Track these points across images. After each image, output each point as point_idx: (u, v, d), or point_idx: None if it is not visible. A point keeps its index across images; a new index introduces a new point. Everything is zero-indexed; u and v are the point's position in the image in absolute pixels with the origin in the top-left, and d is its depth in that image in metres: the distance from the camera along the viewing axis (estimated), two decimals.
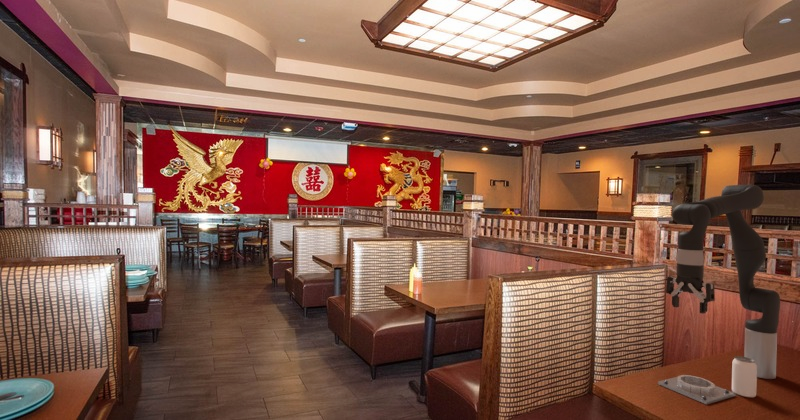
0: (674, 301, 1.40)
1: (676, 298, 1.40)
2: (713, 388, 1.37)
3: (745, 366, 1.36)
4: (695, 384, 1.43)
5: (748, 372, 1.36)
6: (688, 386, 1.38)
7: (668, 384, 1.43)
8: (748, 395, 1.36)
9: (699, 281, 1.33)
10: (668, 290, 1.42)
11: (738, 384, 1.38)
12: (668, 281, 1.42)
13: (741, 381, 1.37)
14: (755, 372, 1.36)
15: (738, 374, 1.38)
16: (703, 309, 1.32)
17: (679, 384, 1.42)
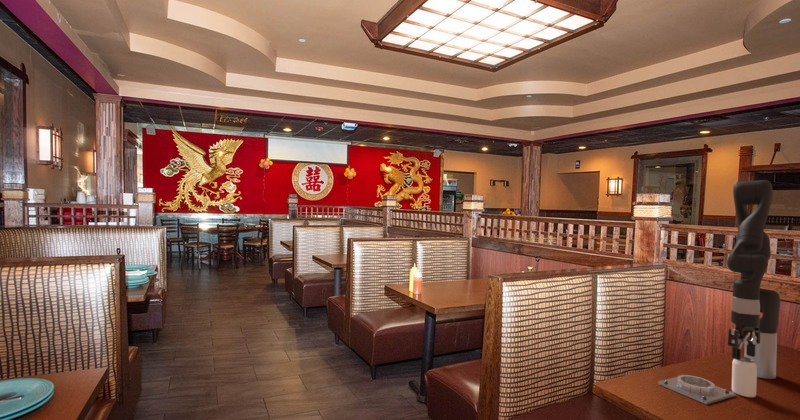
0: (740, 353, 1.36)
1: None
2: (713, 388, 1.37)
3: (745, 366, 1.36)
4: (695, 384, 1.43)
5: (748, 372, 1.36)
6: (688, 386, 1.38)
7: (668, 384, 1.43)
8: (748, 395, 1.36)
9: (753, 327, 1.39)
10: (737, 344, 1.35)
11: (738, 384, 1.38)
12: (737, 335, 1.35)
13: (741, 381, 1.37)
14: (755, 372, 1.36)
15: (738, 374, 1.38)
16: None
17: (679, 384, 1.42)
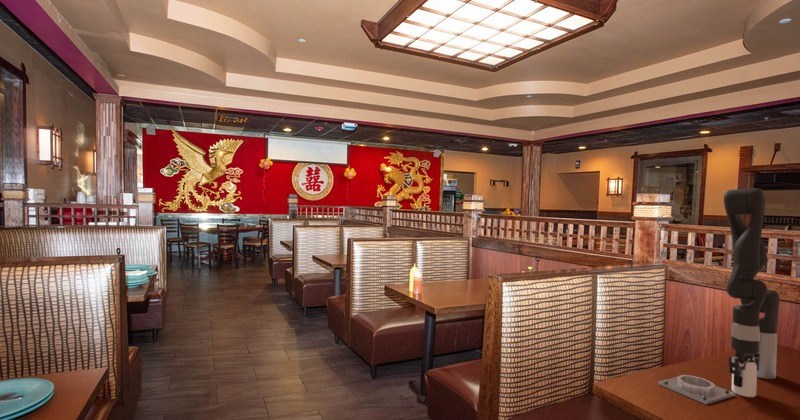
0: (741, 381, 1.37)
1: None
2: (713, 388, 1.37)
3: None
4: (695, 384, 1.43)
5: (748, 372, 1.36)
6: (688, 386, 1.38)
7: (668, 384, 1.43)
8: (748, 395, 1.36)
9: None
10: (739, 372, 1.36)
11: None
12: (738, 363, 1.35)
13: None
14: (755, 372, 1.36)
15: None
16: None
17: (679, 384, 1.42)
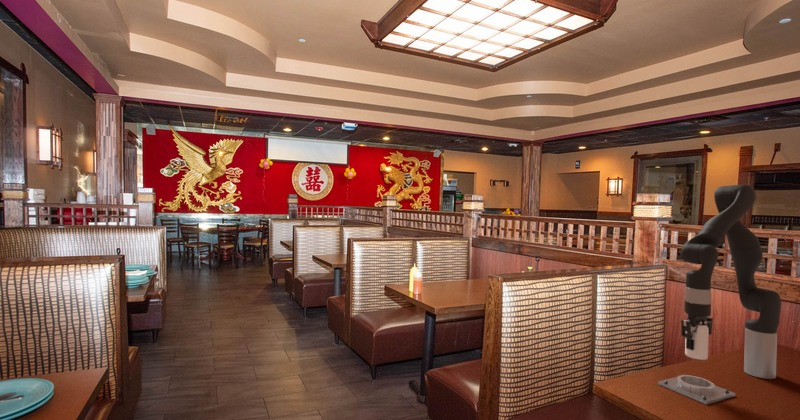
0: (693, 344, 1.39)
1: None
2: (713, 388, 1.37)
3: None
4: (695, 384, 1.43)
5: (699, 335, 1.38)
6: (688, 386, 1.38)
7: (668, 384, 1.43)
8: (700, 357, 1.38)
9: (706, 316, 1.41)
10: (690, 335, 1.38)
11: None
12: (689, 326, 1.37)
13: None
14: (706, 335, 1.38)
15: None
16: None
17: (679, 384, 1.42)
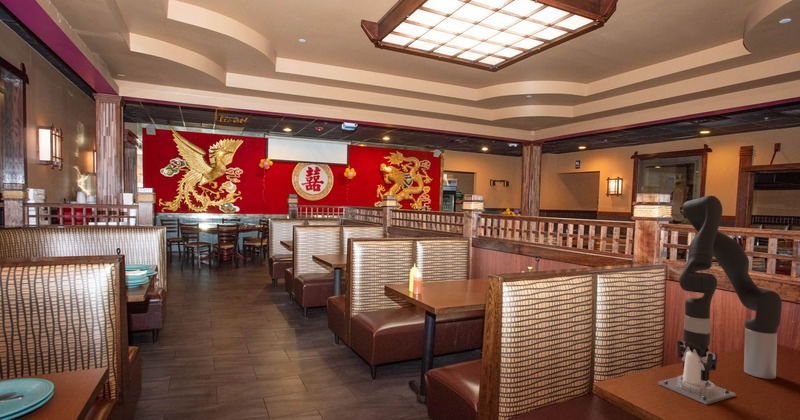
0: None
1: None
2: (713, 388, 1.37)
3: None
4: None
5: None
6: (688, 386, 1.38)
7: (668, 384, 1.43)
8: None
9: None
10: None
11: None
12: None
13: None
14: None
15: None
16: None
17: (679, 384, 1.42)
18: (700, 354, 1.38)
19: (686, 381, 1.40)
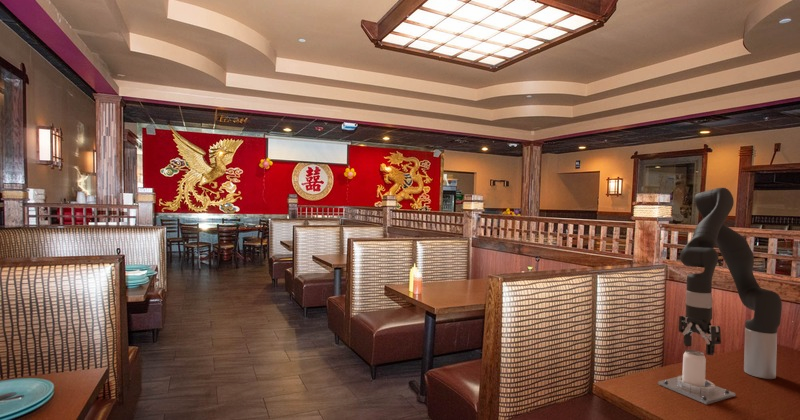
0: None
1: None
2: (713, 388, 1.37)
3: (705, 360, 1.39)
4: None
5: (705, 364, 1.39)
6: (688, 386, 1.38)
7: (668, 384, 1.43)
8: (704, 386, 1.39)
9: None
10: None
11: (700, 380, 1.38)
12: None
13: (702, 376, 1.38)
14: None
15: (701, 370, 1.38)
16: None
17: (679, 384, 1.42)
18: (703, 328, 1.37)
19: None
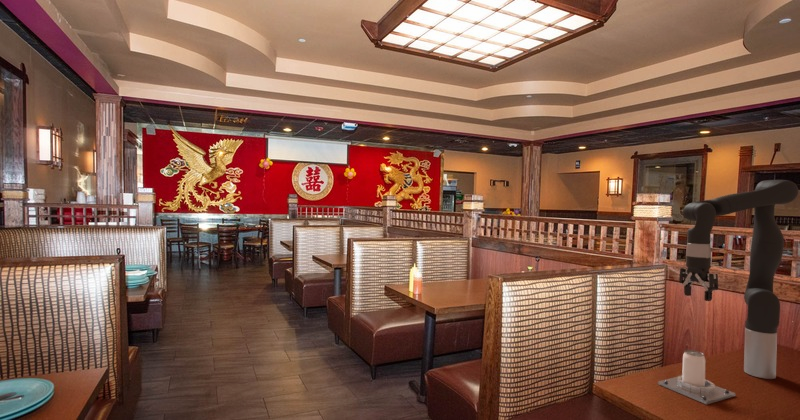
0: None
1: None
2: (713, 388, 1.37)
3: (704, 360, 1.38)
4: None
5: (705, 364, 1.39)
6: (688, 386, 1.38)
7: (668, 384, 1.43)
8: (704, 386, 1.39)
9: None
10: None
11: (700, 380, 1.38)
12: None
13: (702, 376, 1.38)
14: None
15: (700, 370, 1.38)
16: None
17: (679, 384, 1.42)
18: (702, 277, 1.49)
19: None
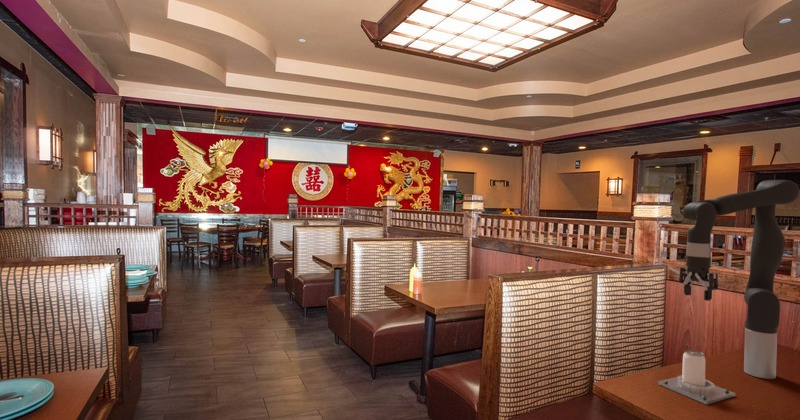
0: None
1: None
2: (713, 388, 1.37)
3: (704, 360, 1.38)
4: None
5: (705, 365, 1.39)
6: (688, 386, 1.38)
7: (668, 384, 1.43)
8: (704, 386, 1.39)
9: None
10: None
11: (700, 380, 1.38)
12: None
13: (702, 376, 1.38)
14: None
15: (700, 370, 1.38)
16: None
17: (679, 384, 1.42)
18: (702, 276, 1.49)
19: None
